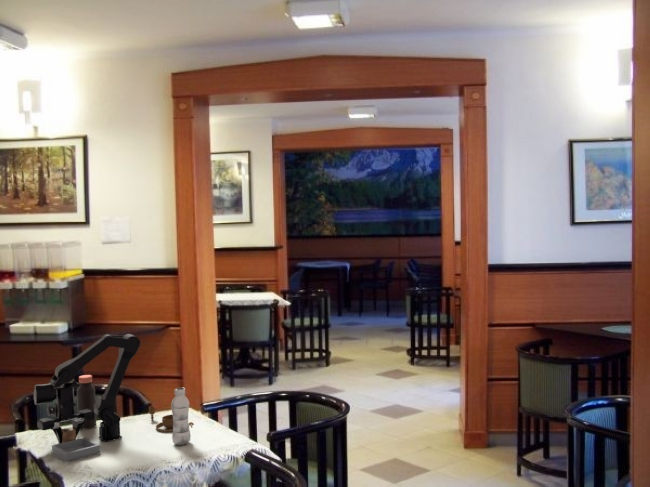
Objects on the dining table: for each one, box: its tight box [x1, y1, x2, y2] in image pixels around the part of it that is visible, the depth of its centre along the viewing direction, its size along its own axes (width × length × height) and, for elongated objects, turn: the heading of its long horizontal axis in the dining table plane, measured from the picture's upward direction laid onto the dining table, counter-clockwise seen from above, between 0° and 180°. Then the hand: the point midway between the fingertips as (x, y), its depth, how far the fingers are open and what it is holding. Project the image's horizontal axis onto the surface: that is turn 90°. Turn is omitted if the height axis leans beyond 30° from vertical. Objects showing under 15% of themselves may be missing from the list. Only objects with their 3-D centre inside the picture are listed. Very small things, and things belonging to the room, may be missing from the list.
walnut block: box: [57, 426, 77, 444], centre depth 246 cm, size 4×4×6 cm
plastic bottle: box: [170, 387, 192, 446], centre depth 246 cm, size 6×7×20 cm
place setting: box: [148, 406, 194, 434], centre depth 269 cm, size 18×20×6 cm
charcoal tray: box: [51, 436, 101, 464], centre depth 238 cm, size 12×12×3 cm
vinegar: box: [76, 374, 97, 430], centre depth 269 cm, size 7×7×20 cm
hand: (67, 442), depth 246 cm, fingers closed on walnut block, 4 cm apart
